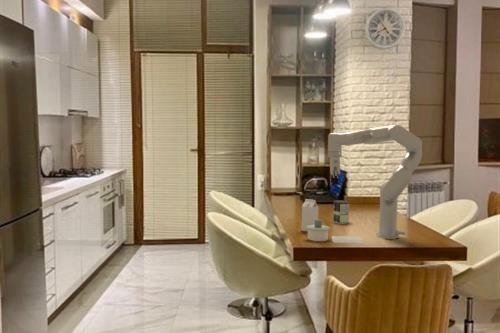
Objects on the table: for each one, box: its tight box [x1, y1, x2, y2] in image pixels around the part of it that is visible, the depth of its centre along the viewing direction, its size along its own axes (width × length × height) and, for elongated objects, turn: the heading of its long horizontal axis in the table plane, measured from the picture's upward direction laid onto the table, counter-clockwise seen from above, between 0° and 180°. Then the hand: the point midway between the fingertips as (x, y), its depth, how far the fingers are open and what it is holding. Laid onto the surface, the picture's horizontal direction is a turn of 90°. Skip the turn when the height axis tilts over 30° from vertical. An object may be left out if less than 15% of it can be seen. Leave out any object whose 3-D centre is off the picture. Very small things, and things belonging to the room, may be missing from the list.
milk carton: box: [301, 198, 319, 233], centre depth 294 cm, size 7×7×19 cm
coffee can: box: [332, 199, 350, 225], centre depth 323 cm, size 10×10×14 cm
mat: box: [331, 235, 364, 245], centre depth 270 cm, size 16×16×1 cm
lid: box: [306, 218, 331, 232], centre depth 271 cm, size 13×13×5 cm
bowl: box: [307, 230, 329, 242], centre depth 272 cm, size 11×11×6 cm
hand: (334, 183), depth 284 cm, fingers open, 9 cm apart
